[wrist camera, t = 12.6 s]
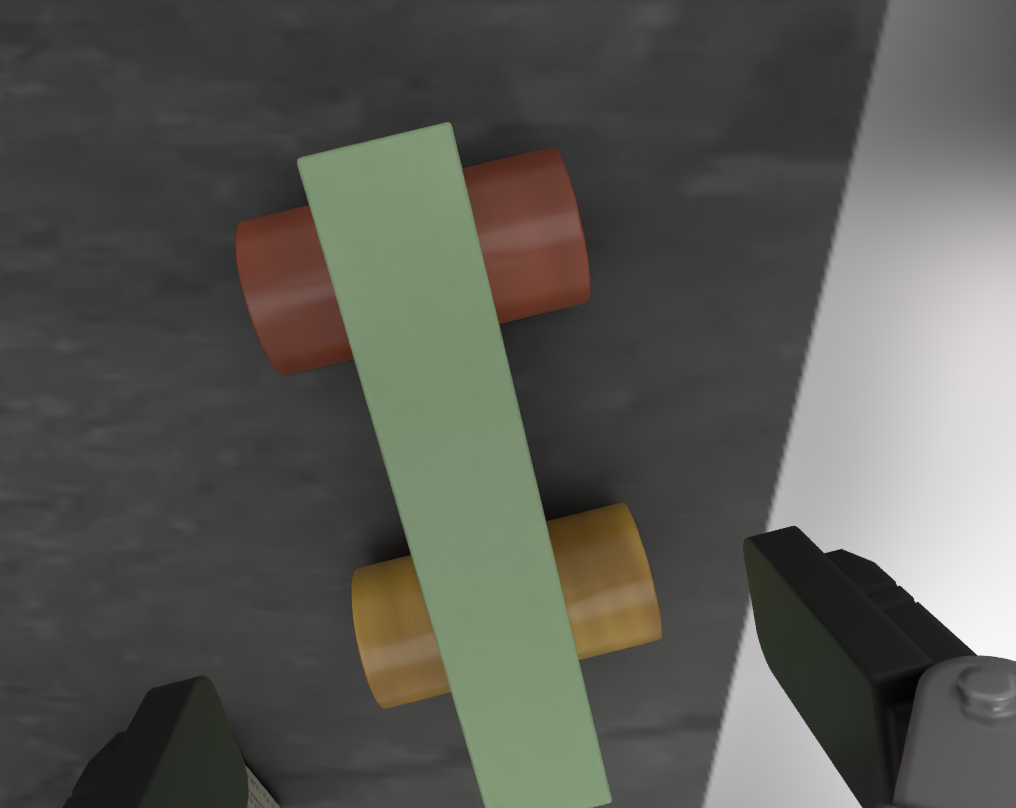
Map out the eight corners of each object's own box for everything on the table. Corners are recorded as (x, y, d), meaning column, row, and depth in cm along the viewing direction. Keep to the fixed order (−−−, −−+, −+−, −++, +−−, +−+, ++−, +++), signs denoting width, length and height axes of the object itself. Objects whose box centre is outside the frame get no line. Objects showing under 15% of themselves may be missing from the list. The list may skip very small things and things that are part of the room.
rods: (257, 217, 22) (219, 226, 19) (544, 148, 23) (566, 142, 19) (393, 656, 26) (385, 739, 22) (637, 596, 26) (671, 667, 23)
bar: (317, 160, 18) (294, 158, 15) (449, 129, 18) (450, 121, 16) (485, 751, 23) (491, 834, 20) (591, 724, 23) (613, 803, 20)
